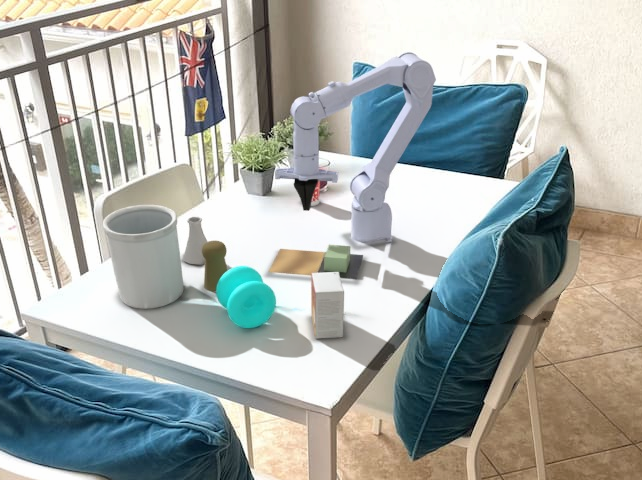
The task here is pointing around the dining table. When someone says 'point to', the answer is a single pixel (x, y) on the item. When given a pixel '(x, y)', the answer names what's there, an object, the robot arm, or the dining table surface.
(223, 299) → the turquoise spool
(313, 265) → the board
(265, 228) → the dining table surface
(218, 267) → the cork
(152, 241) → the utensil holder
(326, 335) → the small box
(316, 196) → the beverage cup
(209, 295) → the dining table surface
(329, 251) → the sage block
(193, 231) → the flask
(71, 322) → the dining table surface
